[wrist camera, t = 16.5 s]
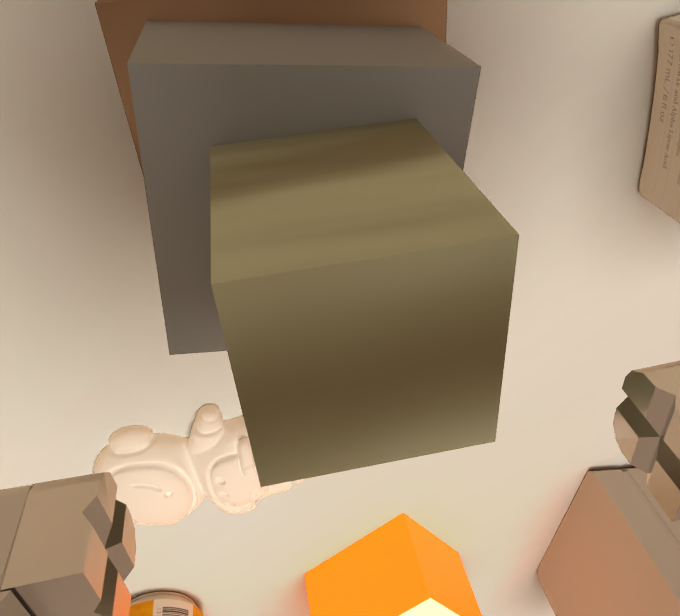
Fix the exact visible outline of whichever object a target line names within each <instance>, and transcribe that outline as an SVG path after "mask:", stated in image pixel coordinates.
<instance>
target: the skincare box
mask: <svg viewBox="0 0 680 616" xmlns="http://www.w3.org/2000/svg"><path fill="white" fill-rule="evenodd" d="M658 46H659V53H658V63H657V73H656V82H655V91H654V100H653V107H652V114H651V121H650V128H649V135H648V141H647V147H646V153H645V159H644V164H643V169H642V173H641V177H640V184H639V191H640V194H641V195H642V196H643V197H644V198H646V199H647V200H648V201H650V202H651V203H653V204H654V205H655V206H657V207H658V208H660V209H661V210H662V211H664V212H665V213H666V214H668V215H669V216H671V217H672V218H673V219H675V220H676V221H678V222H679V223H680V14H679V15H675V16H670V17H667V18H664V19H662V20H661V22H660V24H659V41H658Z"/></svg>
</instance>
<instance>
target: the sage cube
mask: <svg viewBox="0 0 680 616" xmlns="http://www.w3.org/2000/svg"><path fill="white" fill-rule="evenodd" d="M210 214H211V286H212V290H213V295H214V299H215V303H216V307H217V311H218V315H219V319H220V323H221V327H222V331H223V335H224V339H225V343H226V348H227V352H228V356H229V360H230V364H231V368H232V372H233V376H234V380H235V384H236V388H237V392H238V397H239V401H240V405H241V409H242V413H243V417H244V421H245V425H246V429H247V433H248V437H249V441H250V446H251V450H252V454H253V458H254V462H255V466H256V470H257V474H258V478H259V482H260V486H261V487H264V486H269V485H274V484H280V483H285V482H290V481H295V480H300V479H305V478H310V477H315V476H321V475H326V474H331V473H336V472H341V471H346V470H351V469H356V468H361V467H367V466H372V465H377V464H382V463H387V462H392V461H397V460H402V459H407V458H413V457H418V456H423V455H428V454H433V453H438V452H443V451H448V450H454V449H459V448H464V447H469V446H474V445H479V444H484V443H489V442H494V441H495V438H496V429H497V421H498V412H499V404H500V395H501V386H502V378H503V369H504V360H505V352H506V343H507V334H508V326H509V317H510V308H511V300H512V291H513V282H514V274H515V265H516V257H517V248H518V239H519V234H518V233H517V232H516V231H515V230H514V228H513V227H512V226H511V225H510V224H509V223H508V222H507V221H506V219H505V218H504V217H503V216H502V215H501V214H500V213H499V212H498V210H497V209H496V208H495V207H494V206H493V205H492V204H491V202H490V201H489V200H488V199H487V198H486V197H485V196H484V195H483V193H482V192H481V191H480V190H479V189H478V188H477V187H476V185H475V184H474V183H473V182H472V181H471V180H470V179H469V178H468V176H467V175H466V174H465V173H464V172H463V171H462V170H461V168H460V167H459V166H458V165H457V164H456V163H455V162H454V161H453V159H452V158H451V157H450V156H449V155H448V154H447V153H446V151H445V150H444V149H443V148H442V147H441V146H440V145H439V144H438V142H437V141H436V140H435V139H434V138H433V137H432V136H431V134H430V133H429V132H428V131H427V130H426V129H425V128H424V127H423V125H422V124H421V123H420V122H419V121H418V120H417V119H416V118H414V119H407V120H400V121H392V122H385V123H378V124H371V125H363V126H356V127H349V128H341V129H334V130H327V131H320V132H312V133H305V134H298V135H290V136H283V137H276V138H269V139H261V140H254V141H247V142H240V143H232V144H225V145H218V146H211V147H210Z"/></svg>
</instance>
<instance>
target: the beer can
mask: <svg viewBox="0 0 680 616" xmlns="http://www.w3.org/2000/svg"><path fill="white" fill-rule="evenodd" d="M129 616H203V613H202V612H201V610H200V609H199V608H198V607H196V605H195V603H194V601H193V600H192V599H191V598H189V597H187V596H185V595H183V594H180V593H176V592H165V591H164V592H153V593H148V594H144V595H141V596H138V597H136V598H134V599H132V600H131V602H130V611H129Z"/></svg>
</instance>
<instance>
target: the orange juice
mask: <svg viewBox="0 0 680 616" xmlns="http://www.w3.org/2000/svg"><path fill="white" fill-rule="evenodd" d="M305 580H306V587H307V594H308V602H309V609H310V616H482V615H481V612H480V610H479V607H478V604H477V602H476V599H475V596H474V594H473V591H472V588H471V586H470V583H469V580H468V578H467V575H466V572H465V570H464V567H463V564H462V562H461V559H460V556H459V554H458V552H456V551H455V550H454V549H452V548H451V547H450V546H448V545H447V544H445V543H444V542H443V541H441V540H440V539H439V538H437V537H436V536H435V535H433V534H432V533H430V532H429V531H428V530H426V529H425V528H424V527H422V526H421V525H419V524H418V523H417V522H415V521H414V520H413V519H411V518H410V517H408V516H407V515H406V514H404V513H402V514H401V515H399V516H397V517H396V518H394V519H393V520H391V521H389V522H388V523H386V524H385V525H383V526H381V527H380V528H378V529H376V530H375V531H373V532H372V533H370V534H368V535H367V536H365V537H364V538H362V539H360V540H359V541H357V542H355V543H354V544H352V545H351V546H349V547H347V548H346V549H344V550H343V551H341V552H339V553H338V554H336V555H334V556H333V557H331V558H330V559H328V560H326V561H325V562H323V563H321V564H320V565H318V566H317V567H315V568H313V569H312V570H310V571H309V572H307V573H305Z"/></svg>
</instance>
